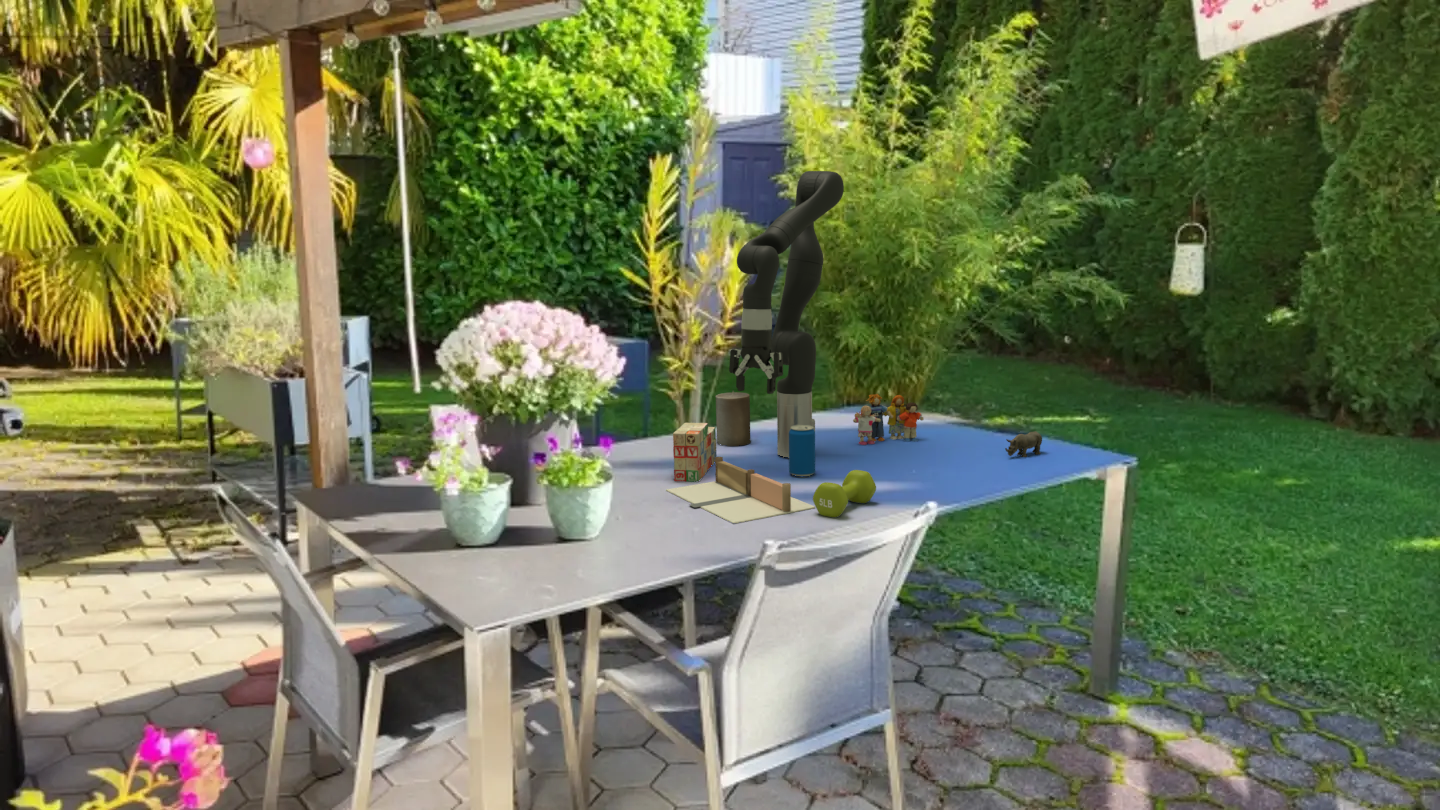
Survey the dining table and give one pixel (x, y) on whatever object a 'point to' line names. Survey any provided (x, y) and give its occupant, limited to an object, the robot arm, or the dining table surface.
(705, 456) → the stack of blocks
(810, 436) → the beverage can
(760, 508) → the card
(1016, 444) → the rhino figurine
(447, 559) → the dining table surface
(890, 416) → the doll family
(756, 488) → the gate
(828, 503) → the dumbbell
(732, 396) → the pillar candle
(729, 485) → the wooden fence panel
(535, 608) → the dining table surface
